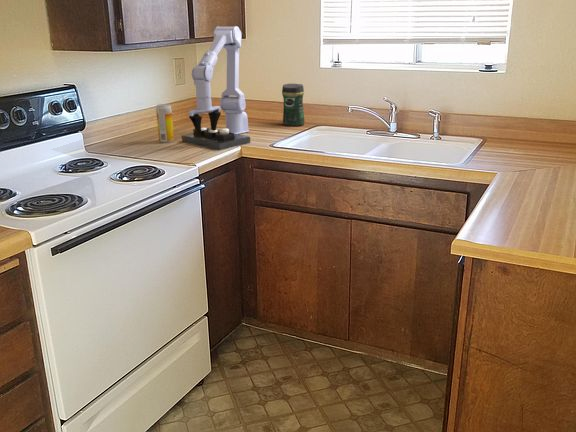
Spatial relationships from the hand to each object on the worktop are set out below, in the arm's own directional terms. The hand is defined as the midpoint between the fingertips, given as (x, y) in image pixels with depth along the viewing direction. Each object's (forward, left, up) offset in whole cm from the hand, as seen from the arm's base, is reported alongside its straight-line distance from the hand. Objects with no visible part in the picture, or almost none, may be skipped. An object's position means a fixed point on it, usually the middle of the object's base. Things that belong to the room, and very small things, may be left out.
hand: (206, 131), depth 232 cm
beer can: (+7, -17, -5) cm, 19 cm away
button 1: (-4, -7, -2) cm, 8 cm away
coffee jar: (-51, 0, -5) cm, 51 cm away
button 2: (-4, 0, -2) cm, 4 cm away
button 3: (-4, +7, -1) cm, 8 cm away
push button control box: (-5, -1, -5) cm, 7 cm away
